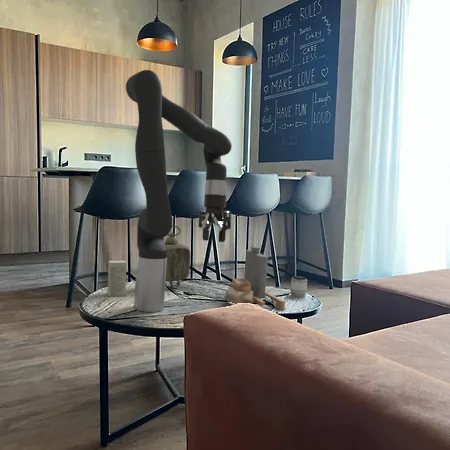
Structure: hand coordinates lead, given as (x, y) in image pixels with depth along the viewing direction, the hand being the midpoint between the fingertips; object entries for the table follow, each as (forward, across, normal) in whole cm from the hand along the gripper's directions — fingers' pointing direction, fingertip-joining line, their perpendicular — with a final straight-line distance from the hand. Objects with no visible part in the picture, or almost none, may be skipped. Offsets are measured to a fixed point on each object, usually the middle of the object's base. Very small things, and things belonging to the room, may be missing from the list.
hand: (213, 241), depth 155 cm
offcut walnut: (+23, +1, +12) cm, 26 cm away
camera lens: (+22, +3, +44) cm, 49 cm away
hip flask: (+22, -3, +23) cm, 32 cm away
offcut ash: (+20, +2, +12) cm, 24 cm away
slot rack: (+22, 0, +22) cm, 32 cm away
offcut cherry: (+17, +2, +12) cm, 21 cm away
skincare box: (+21, -29, -21) cm, 41 cm away
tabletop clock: (+21, -29, +3) cm, 36 cm away
